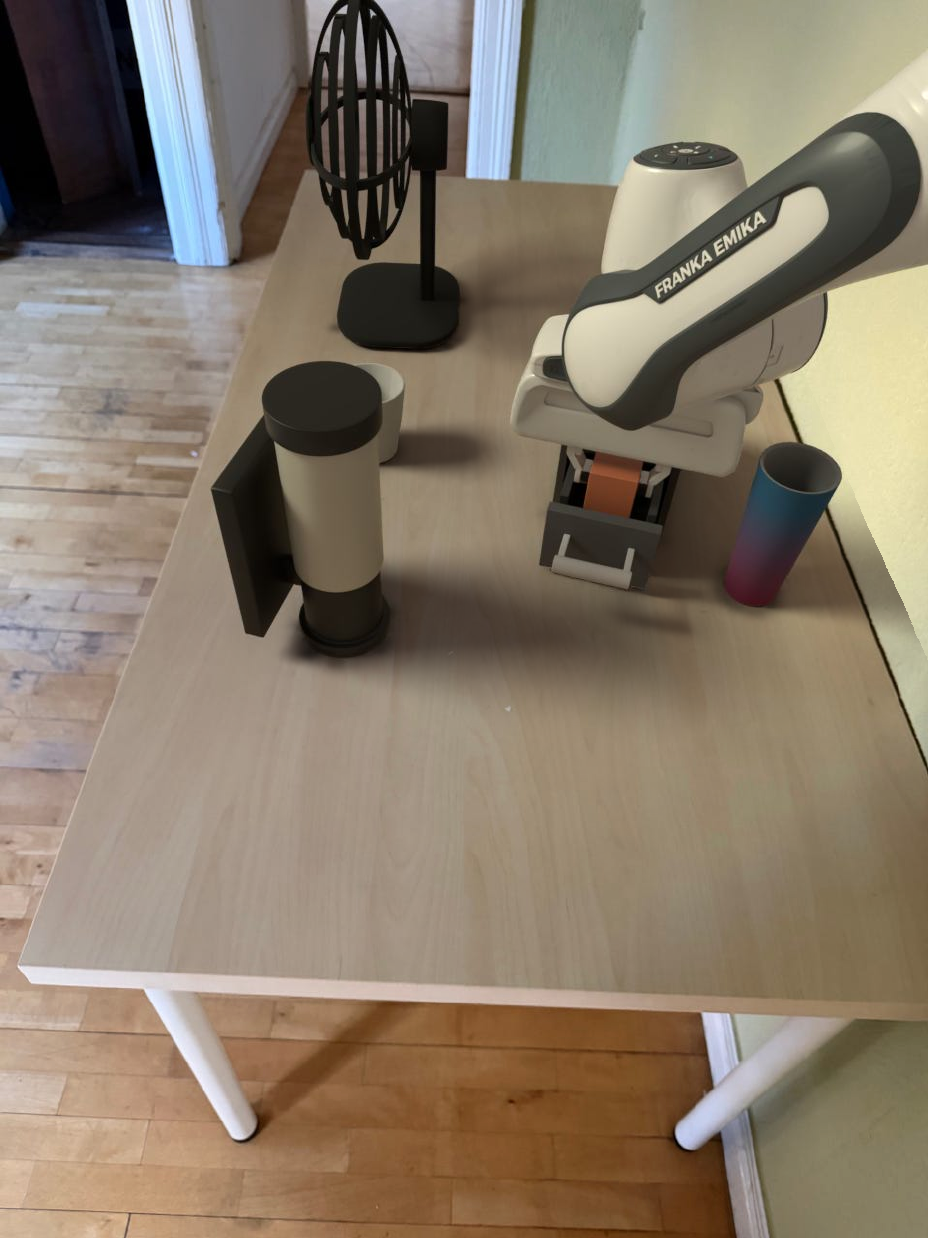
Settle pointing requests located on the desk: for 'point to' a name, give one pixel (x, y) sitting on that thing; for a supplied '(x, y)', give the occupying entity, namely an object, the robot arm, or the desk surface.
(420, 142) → the desk fan
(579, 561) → the drawer
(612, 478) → the block
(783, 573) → the cup
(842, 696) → the desk surface
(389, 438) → the cup
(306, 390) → the light fixture
